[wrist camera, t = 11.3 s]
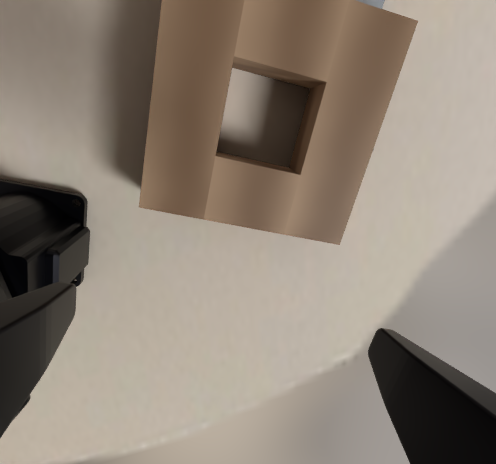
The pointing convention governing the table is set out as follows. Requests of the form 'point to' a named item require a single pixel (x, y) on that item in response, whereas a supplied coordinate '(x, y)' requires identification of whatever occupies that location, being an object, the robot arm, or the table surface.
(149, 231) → the table surface
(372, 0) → the mat
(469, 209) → the table surface
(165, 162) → the socket block
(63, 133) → the table surface
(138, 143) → the table surface
